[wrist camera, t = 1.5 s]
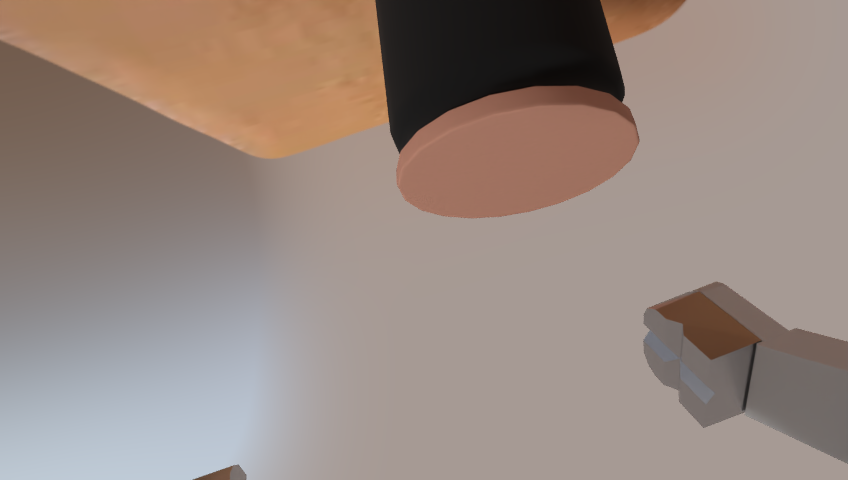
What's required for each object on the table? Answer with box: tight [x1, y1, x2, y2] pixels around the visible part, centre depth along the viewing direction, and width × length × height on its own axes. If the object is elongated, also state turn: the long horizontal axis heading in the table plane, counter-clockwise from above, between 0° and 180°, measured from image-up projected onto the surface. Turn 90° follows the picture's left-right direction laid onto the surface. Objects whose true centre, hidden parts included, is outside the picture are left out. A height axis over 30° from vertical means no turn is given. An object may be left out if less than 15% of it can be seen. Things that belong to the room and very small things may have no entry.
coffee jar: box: [375, 0, 639, 218], centre depth 26 cm, size 11×11×18 cm
